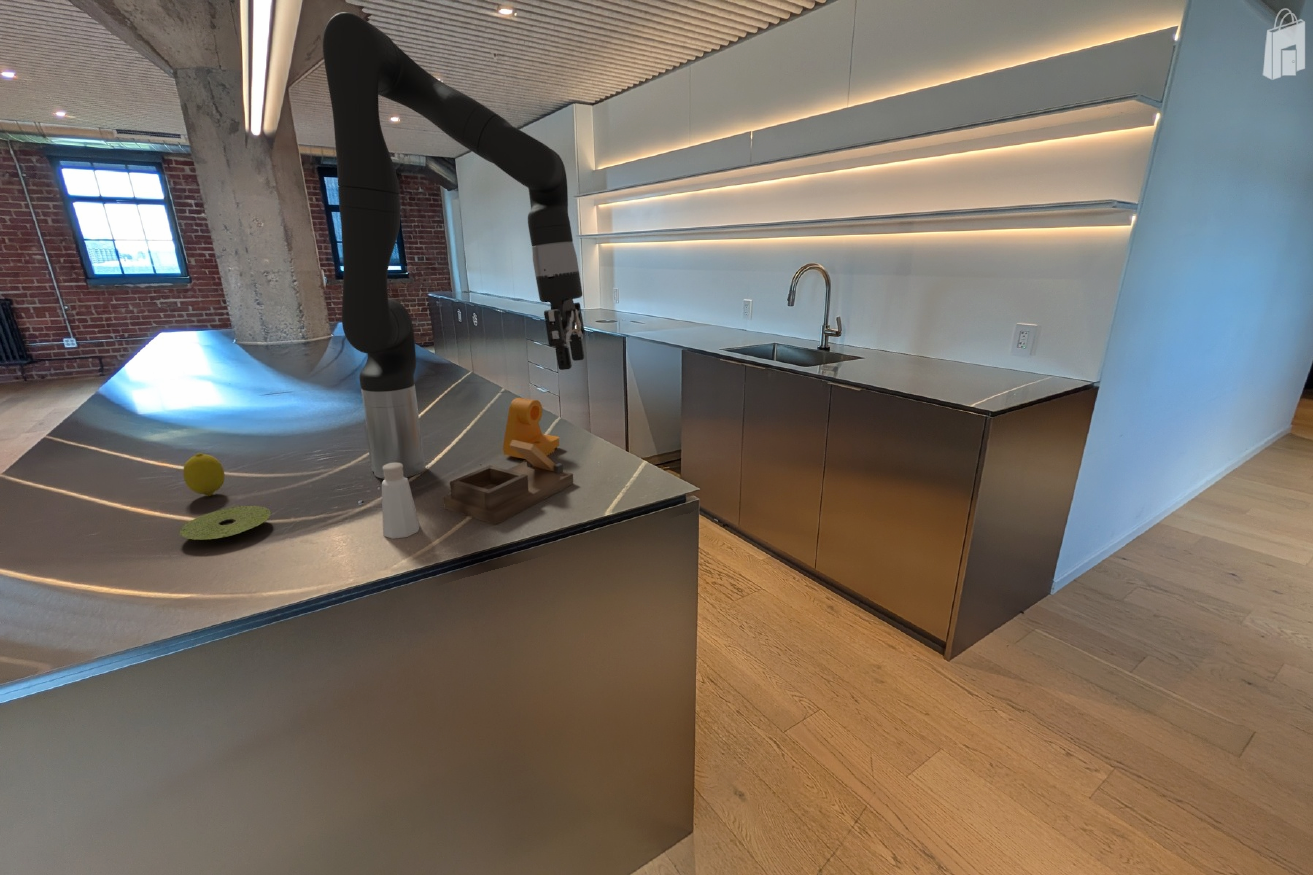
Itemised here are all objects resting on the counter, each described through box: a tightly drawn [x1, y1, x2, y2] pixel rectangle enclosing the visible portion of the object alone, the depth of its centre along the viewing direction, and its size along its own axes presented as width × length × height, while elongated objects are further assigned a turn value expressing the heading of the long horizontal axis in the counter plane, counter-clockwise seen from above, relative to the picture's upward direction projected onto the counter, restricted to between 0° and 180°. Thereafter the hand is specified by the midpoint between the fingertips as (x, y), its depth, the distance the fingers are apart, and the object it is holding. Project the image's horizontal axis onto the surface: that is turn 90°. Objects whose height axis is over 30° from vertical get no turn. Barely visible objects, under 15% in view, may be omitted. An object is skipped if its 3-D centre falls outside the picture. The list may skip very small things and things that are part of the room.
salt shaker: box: [381, 463, 420, 540], centre depth 86 cm, size 5×5×11 cm
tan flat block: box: [510, 440, 557, 471], centre depth 104 cm, size 5×9×1 cm
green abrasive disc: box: [179, 505, 272, 541], centre depth 86 cm, size 11×11×2 cm
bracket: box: [502, 397, 560, 460], centre depth 120 cm, size 11×7×12 cm, turn 155°
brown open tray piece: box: [442, 460, 574, 526], centre depth 100 cm, size 12×20×5 cm, turn 150°
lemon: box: [182, 452, 225, 497], centre depth 98 cm, size 6×6×8 cm
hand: (572, 364), depth 102 cm, fingers open, 8 cm apart
